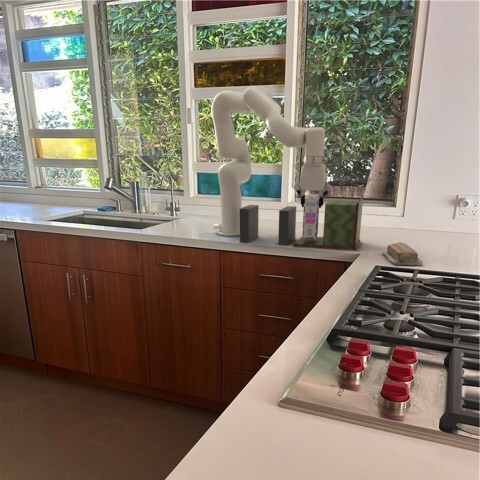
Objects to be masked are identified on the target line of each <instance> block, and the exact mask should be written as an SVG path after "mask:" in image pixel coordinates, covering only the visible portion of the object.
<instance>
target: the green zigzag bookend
mask: <svg viewBox="0 0 480 480" xmlns="http://www.w3.org/2000/svg"><path fill="white" fill-rule="evenodd" d="M363 205H364V198H363V197H360V198H359V199H358V200H341V199H330V200H329V201H327V202H326V203H325V204H324V219H323V234H322V236H317V238H316V239H308V238H302V236H300V237H299V238H298V239H297V240H296V241H295V242H294V243H293V247H297V248H309V249H310V248H313V249H325V250H341V251H357V250H358V247H359V246H360V244H361V241H362V240H361V239H360V238H361V227H362V216H363Z"/></svg>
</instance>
